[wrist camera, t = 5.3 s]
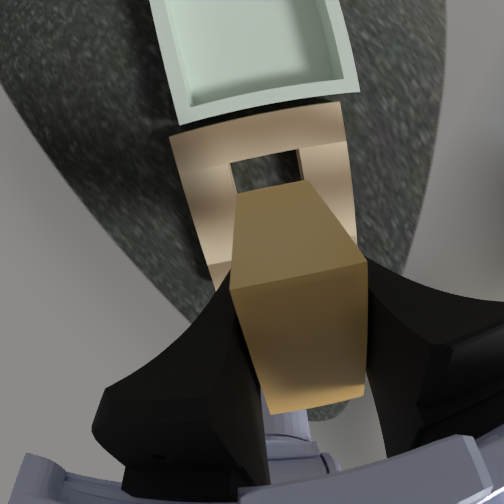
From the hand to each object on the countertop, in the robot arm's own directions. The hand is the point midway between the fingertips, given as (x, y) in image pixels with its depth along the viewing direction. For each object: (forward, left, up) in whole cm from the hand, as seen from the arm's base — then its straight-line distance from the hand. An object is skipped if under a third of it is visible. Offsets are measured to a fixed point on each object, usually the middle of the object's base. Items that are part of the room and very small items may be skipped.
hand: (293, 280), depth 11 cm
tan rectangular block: (0, 0, -3) cm, 3 cm away
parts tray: (+11, -1, -10) cm, 15 cm away
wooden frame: (0, 0, -10) cm, 10 cm away
